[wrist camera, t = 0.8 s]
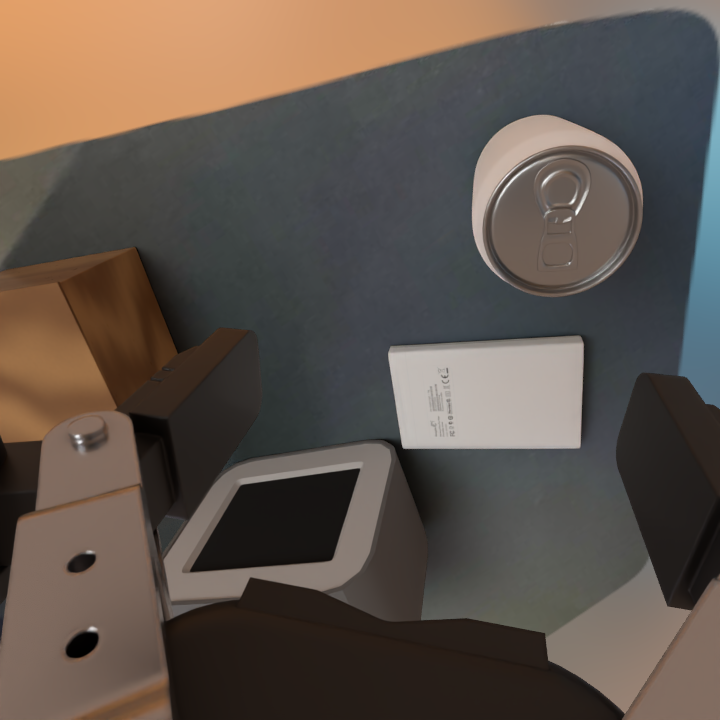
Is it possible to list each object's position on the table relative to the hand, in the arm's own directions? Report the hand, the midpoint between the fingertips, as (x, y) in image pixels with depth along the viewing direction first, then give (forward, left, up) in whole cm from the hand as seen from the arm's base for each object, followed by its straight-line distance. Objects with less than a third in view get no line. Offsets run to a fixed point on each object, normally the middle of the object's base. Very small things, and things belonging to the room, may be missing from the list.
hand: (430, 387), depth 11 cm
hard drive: (+14, 0, -23) cm, 27 cm away
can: (0, +4, -23) cm, 23 cm away
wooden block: (+7, -29, -23) cm, 37 cm away
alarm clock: (+24, -14, -23) cm, 36 cm away
